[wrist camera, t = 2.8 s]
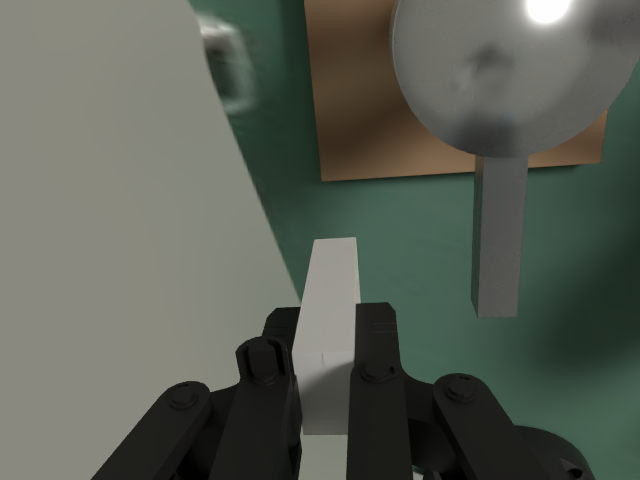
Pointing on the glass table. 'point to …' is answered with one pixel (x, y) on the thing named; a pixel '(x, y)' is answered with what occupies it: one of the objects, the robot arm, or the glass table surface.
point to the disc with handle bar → (509, 100)
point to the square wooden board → (387, 104)
